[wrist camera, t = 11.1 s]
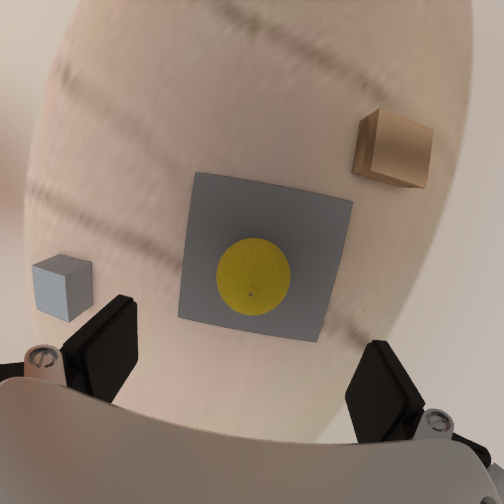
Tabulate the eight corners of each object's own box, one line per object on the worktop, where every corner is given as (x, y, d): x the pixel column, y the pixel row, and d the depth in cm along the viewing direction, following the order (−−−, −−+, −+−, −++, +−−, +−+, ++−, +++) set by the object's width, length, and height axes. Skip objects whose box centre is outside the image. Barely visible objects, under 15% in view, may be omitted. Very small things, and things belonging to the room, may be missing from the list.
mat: (196, 172, 24) (195, 172, 24) (352, 201, 24) (353, 201, 23) (178, 316, 27) (178, 317, 27) (316, 340, 27) (316, 342, 27)
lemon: (294, 281, 25) (304, 321, 18) (235, 297, 26) (222, 341, 18) (277, 222, 24) (281, 240, 17) (216, 240, 25) (193, 265, 17)
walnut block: (359, 121, 22) (379, 108, 17) (406, 137, 22) (433, 129, 17) (351, 173, 23) (370, 170, 18) (399, 187, 23) (425, 188, 18)
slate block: (59, 253, 27) (31, 265, 22) (92, 262, 27) (64, 276, 22) (62, 293, 28) (36, 309, 23) (93, 304, 28) (69, 322, 23)
